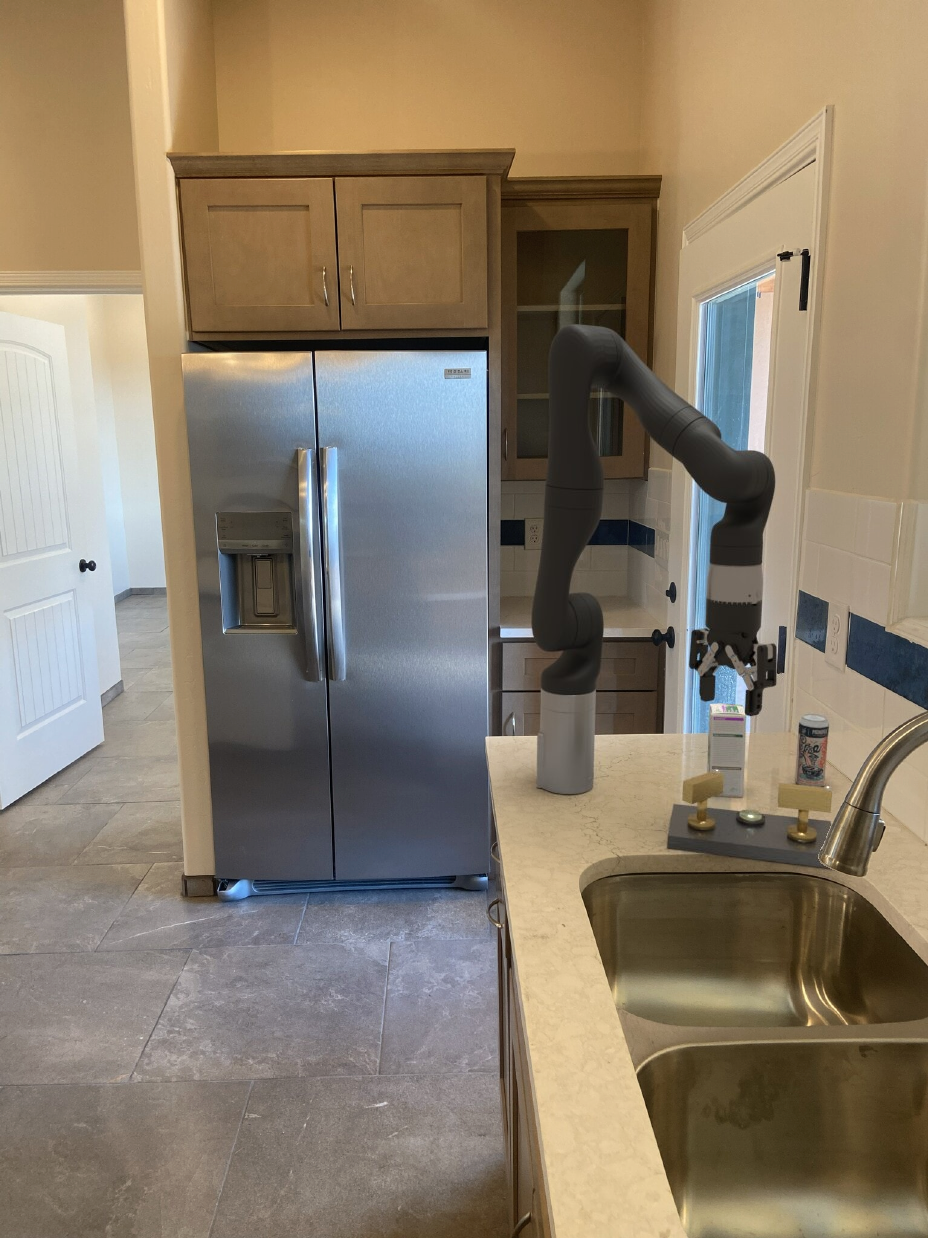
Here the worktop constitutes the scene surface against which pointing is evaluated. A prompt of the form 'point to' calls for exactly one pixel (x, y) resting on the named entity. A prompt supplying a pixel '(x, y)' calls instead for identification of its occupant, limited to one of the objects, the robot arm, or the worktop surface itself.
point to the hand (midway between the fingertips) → (729, 707)
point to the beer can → (812, 750)
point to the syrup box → (727, 746)
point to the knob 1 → (702, 797)
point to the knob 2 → (804, 807)
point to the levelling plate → (746, 836)
